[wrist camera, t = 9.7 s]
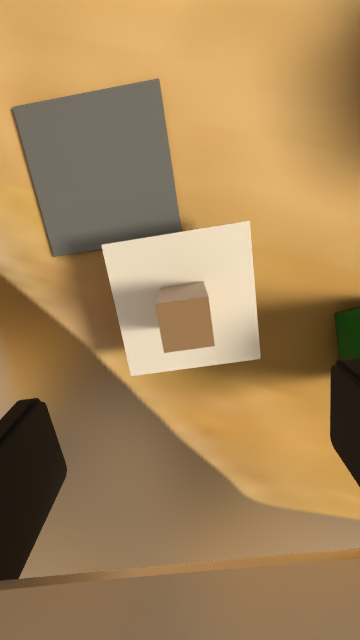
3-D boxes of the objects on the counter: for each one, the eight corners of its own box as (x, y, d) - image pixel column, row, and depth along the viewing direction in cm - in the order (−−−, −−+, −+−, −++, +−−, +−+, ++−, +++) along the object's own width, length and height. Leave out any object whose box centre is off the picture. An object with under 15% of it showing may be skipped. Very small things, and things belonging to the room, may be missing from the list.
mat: (14, 108, 26) (12, 106, 26) (159, 80, 26) (158, 78, 25) (55, 256, 30) (53, 256, 30) (182, 236, 29) (182, 236, 29)
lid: (103, 244, 25) (77, 250, 19) (247, 221, 24) (268, 219, 18) (132, 372, 28) (118, 411, 22) (258, 355, 28) (278, 391, 22)
